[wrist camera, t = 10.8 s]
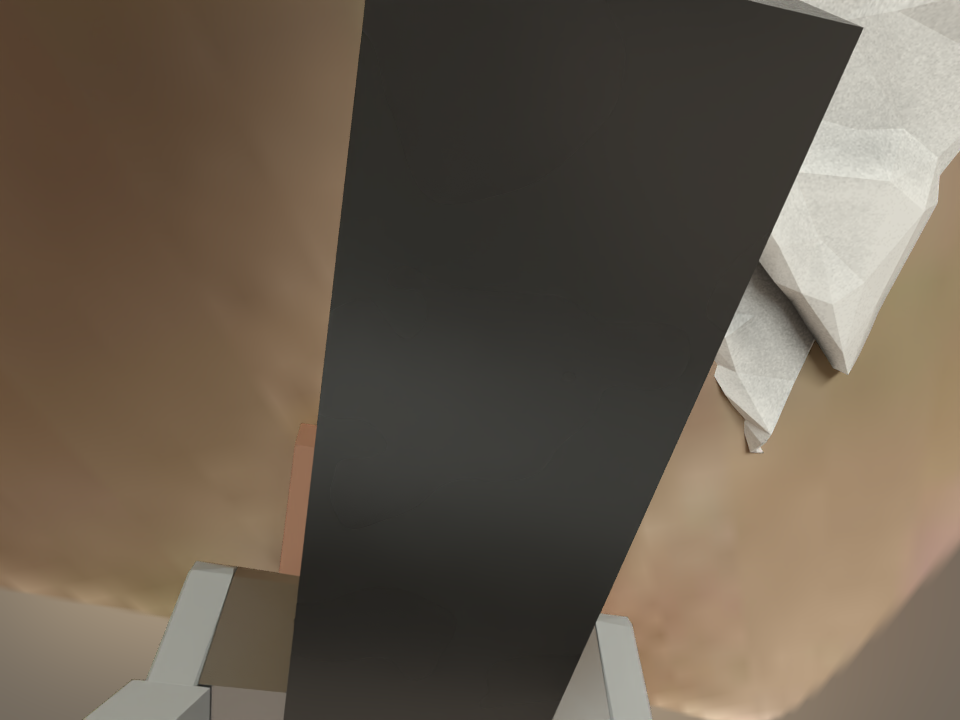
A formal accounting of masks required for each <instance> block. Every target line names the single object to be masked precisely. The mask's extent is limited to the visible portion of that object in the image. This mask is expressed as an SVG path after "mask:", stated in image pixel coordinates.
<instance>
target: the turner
mask: <svg viewBox="0 0 960 720" xmlns="http://www.w3.org/2000/svg"><path fill="white" fill-rule="evenodd" d="M863 28H864V27H861V26H859V25H856V24H854V23H852V22H849V21H847V20H845V19H842V18H840V17H838V16H835V15H833V14H831V13H828V12H826V11H824V10H821V9H819V8H817V7H814V6H812V5H810V4H807V3H805V2H803V1H800V0H366V1H365V9H364V18H363V27H362V36H361V44H360V53H359V62H358V71H357V79H356V88H355V97H354V106H353V114H352V123H351V132H350V141H349V149H348V158H347V167H346V176H345V184H344V193H343V202H342V211H341V219H340V228H339V237H338V246H337V254H336V263H335V272H334V281H333V289H332V298H331V307H330V316H329V324H328V333H327V342H326V351H325V359H324V368H323V377H322V386H321V394H320V403H319V412H318V421H317V429H316V438H315V447H314V456H313V464H312V473H311V482H310V491H309V499H308V508H307V517H306V526H305V534H304V543H303V552H302V561H301V569H300V578H299V587H298V596H297V604H296V613H295V622H294V631H293V639H292V648H291V657H290V666H289V674H288V683H287V692H286V701H285V709H284V718H283V720H552V719H553V717H554V715H555V713H556V710H557V708H558V706H559V704H560V701H561V699H562V697H563V695H564V693H565V690H566V688H567V686H568V684H569V681H570V679H571V677H572V675H573V673H574V670H575V668H576V666H577V664H578V661H579V659H580V657H581V655H582V653H583V650H584V648H585V646H586V644H587V641H588V639H589V637H590V635H591V633H592V630H593V628H594V626H595V624H596V621H597V619H598V617H599V615H600V613H601V610H602V608H603V606H604V604H605V601H606V599H607V597H608V595H609V593H610V590H611V588H612V586H613V584H614V581H615V579H616V577H617V575H618V573H619V570H620V568H621V566H622V564H623V561H624V559H625V557H626V555H627V553H628V550H629V548H630V546H631V544H632V541H633V539H634V537H635V535H636V533H637V530H638V528H639V526H640V524H641V521H642V519H643V517H644V515H645V513H646V510H647V508H648V506H649V504H650V501H651V499H652V497H653V495H654V493H655V490H656V488H657V486H658V484H659V481H660V479H661V477H662V475H663V473H664V470H665V468H666V466H667V464H668V461H669V459H670V457H671V455H672V453H673V450H674V448H675V446H676V444H677V441H678V439H679V437H680V435H681V433H682V430H683V428H684V426H685V424H686V421H687V419H688V417H689V415H690V413H691V410H692V408H693V406H694V404H695V401H696V399H697V397H698V395H699V393H700V390H701V388H702V386H703V384H704V381H705V379H706V377H707V375H708V373H709V370H710V368H711V366H712V364H713V362H714V359H715V357H716V355H717V353H718V350H719V348H720V346H721V344H722V342H723V339H724V337H725V335H726V333H727V330H728V328H729V326H730V324H731V322H732V319H733V317H734V315H735V313H736V310H737V308H738V306H739V304H740V302H741V299H742V297H743V295H744V293H745V290H746V288H747V286H748V284H749V282H750V279H751V277H752V275H753V273H754V270H755V268H756V266H757V264H758V262H759V259H760V257H761V255H762V253H763V250H764V248H765V246H766V244H767V242H768V239H769V237H770V235H771V233H772V230H773V228H774V226H775V224H776V222H777V219H778V217H779V215H780V213H781V210H782V208H783V206H784V204H785V202H786V199H787V197H788V195H789V193H790V190H791V188H792V186H793V184H794V182H795V179H796V177H797V175H798V173H799V170H800V168H801V166H802V164H803V162H804V159H805V157H806V155H807V153H808V150H809V148H810V146H811V144H812V142H813V139H814V137H815V135H816V133H817V130H818V128H819V126H820V124H821V122H822V119H823V117H824V115H825V113H826V110H827V108H828V106H829V104H830V102H831V99H832V97H833V95H834V93H835V90H836V88H837V86H838V84H839V82H840V79H841V77H842V75H843V73H844V70H845V68H846V66H847V64H848V62H849V59H850V57H851V55H852V53H853V50H854V48H855V46H856V44H857V42H858V39H859V37H860V35H861V33H862V30H863Z"/></svg>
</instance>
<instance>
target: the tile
mask: <svg viewBox="0 0 960 720" xmlns="http://www.w3.org/2000/svg"><path fill="white" fill-rule="evenodd" d="M316 429H317V426H316V425H310V424H304V423H301V425H300V429H299V432H298V436H297V439H296V442H295V448H294V456H293V464H292V472H291V480H290V488H289V496H288V504H287V512H286V520H285V528H284V536H283V544H282V552H281V560H280V568H279V573H283V574H289V575H296V576H300V569H301V561H302V552H303V543H304V534H305V526H306V517H307V508H308V499H309V491H310V482H311V473H312V464H313V456H314V447H315V438H316Z"/></svg>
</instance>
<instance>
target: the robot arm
mask: <svg viewBox="0 0 960 720" xmlns="http://www.w3.org/2000/svg"><path fill="white" fill-rule="evenodd" d="M299 578H300V576H296V575H289V574H283V573H276V572H270V571H263V570H257V569H250V568H244V567H237V566H230V565H222V564H215V563H208V562H201V561H196V562H195V563H194V565H193V566H192V568H191V569H190V571H189V572H188V574H187V577H186V579H185V582H184V584H183V587H182V590H181V592H180V595H179V597H178V600H177V602H176V605H175V607H174V610H173V612H172V615H171V617H170V620H169V622H168V625H167V627H166V630H165V632H164V635H163V638H162V640H161V643H160V645H159V648H158V650H157V653H156V655H155V658H154V660H153V663H152V666H151V668H150V670H149V673H148V675H147V678H146V680H138V679H132V680H131V681H130V682H128V683H127V684H126V685H125V686H123V687H122V688H121V689H120V690H118V691H117V692H116V693H115V694H113V695H112V696H111V697H110V698H108V699H107V700H106V701H105V702H104V703H102V704H101V705H100V706H99V707H97V708H96V709H95V710H94V711H92V712H91V713H90V714H89V715H87V716H86V717H85V718H84V719H82V720H283V718H284V709H285V701H286V692H287V683H288V674H289V666H290V657H291V648H292V639H293V631H294V622H295V613H296V604H297V596H298V587H299ZM552 720H653V717H652V713H651V708H650V703H649V699H648V694H647V690H646V685H645V681H644V676H643V671H642V667H641V662H640V658H639V653H638V649H637V644H636V639H635V635H634V630H633V626H632V623H631V622H630V620H629V619H628V617H624V616H616V615H609V614H601V613H600V615H599V617H598V619H597V621H596V624H595V626H594V628H593V630H592V633H591V635H590V637H589V639H588V641H587V644H586V646H585V648H584V650H583V653H582V655H581V657H580V659H579V661H578V664H577V666H576V668H575V670H574V673H573V675H572V677H571V679H570V681H569V684H568V686H567V688H566V690H565V693H564V695H563V697H562V699H561V701H560V704H559V706H558V708H557V710H556V713H555V715H554V717H553V719H552Z"/></svg>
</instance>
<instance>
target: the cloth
mask: <svg viewBox="0 0 960 720" xmlns="http://www.w3.org/2000/svg"><path fill="white" fill-rule="evenodd" d="M800 1H803V2H805V3H807V4H810V5H812V6H814V7H817V8H819V9H821V10H824V11H826V12H828V13H831V14H833V15H835V16H838V17H840V18H842V19H845V20H847V21H849V22H852V23H854V24H856V25H859V26H861V27H864V28H863V30H862V33H861V35H860V37H859V39H858V42H857V44H856V46H855V48H854V50H853V53H852V55H851V57H850V59H849V62H848V64H847V66H846V68H845V70H844V73H843V75H842V77H841V79H840V82H839V84H838V86H837V88H836V90H835V93H834V95H833V97H832V99H831V102H830V104H829V106H828V108H827V110H826V113H825V115H824V117H823V119H822V122H821V124H820V126H819V128H818V130H817V133H816V135H815V137H814V139H813V142H812V144H811V146H810V148H809V150H808V153H807V155H806V157H805V159H804V162H803V164H802V166H801V168H800V170H799V173H798V175H797V177H796V179H795V182H794V184H793V186H792V188H791V190H790V193H789V195H788V197H787V199H786V202H785V204H784V206H783V208H782V210H781V213H780V215H779V217H778V219H777V222H776V224H775V226H774V228H773V230H772V233H771V235H770V237H769V239H768V242H767V244H766V246H765V248H764V250H763V253H762V255H761V257H760V259H759V262H758V264H757V266H756V268H755V270H754V273H753V275H752V277H751V279H750V282H749V284H748V286H747V288H746V290H745V293H744V295H743V297H742V299H741V302H740V304H739V306H738V308H737V310H736V313H735V315H734V317H733V319H732V322H731V324H730V326H729V328H728V330H727V333H726V335H725V337H724V339H723V342H722V344H721V346H720V348H719V350H718V353H717V355H716V357H715V359H714V360H715V362H716V363H717V364H718V365H717V369H716V372H715V375H714V377H715V378H716V380H717V382H718V383H719V385H720V387H721V388H722V390H723V392H724V393H725V395H726V396H727V398H728V399H729V401H730V402H731V404H732V405H733V406H734V408H735V409H736V410H737V411H738V412H739V413H740V414H741V415H742V416H743V417H744V419H745V422H744V433H745V436H746V440H747V443H748V446H749V450H750V452H753V453H764V452H763V451H762V449H761V448H760V447H761V446H762V445H764V444H765V443H766V442H767V440H768V439H769V437H770V436H771V434H772V432H773V430H774V428H775V425H776V423H777V421H778V419H779V416H780V414H781V412H782V409H783V407H784V405H785V403H786V400H787V398H788V396H789V393H790V391H791V389H792V387H793V384H794V382H795V380H796V378H797V376H798V374H799V372H800V370H801V368H802V365H803V363H804V361H805V359H806V357H807V355H808V353H809V351H810V349H811V347H812V345H813V343H814V341H815V340H816V342H817V343H818V345H819V346H820V348H821V350H822V351H823V353H824V354H825V356H826V357H827V359H828V361H829V362H830V364H831V365H832V367H833V368H834V369H836V370H839V371H841V372H843V373H845V374H847V375H848V374H849V372H850V371H851V369H852V367H853V365H854V363H855V362H856V360H857V358H858V356H859V354H860V352H861V350H862V348H863V346H864V343H865V341H866V339H867V337H868V335H869V333H870V331H871V329H872V326H873V324H874V321H875V319H876V316H877V314H878V312H879V310H880V308H881V306H882V304H883V302H884V300H885V298H886V296H887V295H888V293H889V291H890V289H891V287H892V285H893V284H894V282H895V280H896V278H897V276H898V275H899V273H900V271H901V269H902V267H903V265H904V264H905V262H906V260H907V258H908V256H909V254H910V253H911V251H912V249H913V247H914V245H915V243H916V242H917V240H918V238H919V236H920V234H921V232H922V231H923V229H924V227H925V225H926V223H927V221H928V220H929V218H930V216H931V214H932V212H933V210H934V209H935V207H936V205H937V203H938V190H939V176H940V174H941V173H942V172H943V171H944V169H945V168H946V167H947V166H948V164H949V163H950V162H951V161H952V160H953V158H954V157H955V156H956V155H957V153H958V152H959V151H960V0H800Z"/></svg>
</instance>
